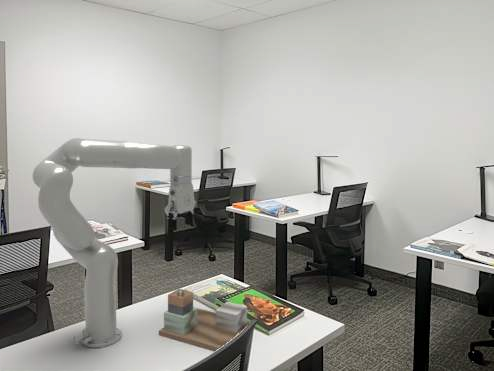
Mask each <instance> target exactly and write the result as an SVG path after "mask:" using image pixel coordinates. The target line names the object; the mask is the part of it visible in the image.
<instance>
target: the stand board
mask: <svg viewBox="0 0 494 371" xmlns="http://www.w3.org/2000/svg"><path fill="white" fill-rule="evenodd" d="M250 322H251V323H252V321H251V320H248V306H247V305H243V304H239V303H234V302H229V301H226V302H224V303H223V304H222V305H221V306H219V307H218V308H216V309H215V312H214V311H210V310H207V309H202V308H198V307H194V306H193V310H191V311H190V312H188V313H187V314H185V315H184V316H181V315H178V314H174V313H170V312H168V309H167V310H165V311H164V312H163V327H162V328H160V329H159V330H158V335H159V336H161V337H165V338H168V339H172V340H175V341H179V342H182V343H186V344H187V345H191V346H196V347H199V348H202V349H206V350H209V351H213V352H215V351H216V350H217V349H219V348H221V347H222V346H223V345H225V344H226V343H227V342H229V341H230V340H231V339H233V338H234V337H235V336H236V335H237V334H238V333H240V332H241V331H242V330H243V329H244V328H245V327H246V326H247V325H248V324H249V323H250Z"/></svg>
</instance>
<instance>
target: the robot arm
mask: <svg viewBox="0 0 494 371" xmlns="http://www.w3.org/2000/svg"><path fill="white" fill-rule="evenodd" d="M192 157H193V156H192V147H191V146H190V145H183V144H181V145H180V144H179V145H162V144H154V145H153V144H143V143H138V142H131V141H124V140H110V139H109V140H107V139H90V138H79V137H76V138H75V137H74V138H70V139H68V140H67V141H65V142H64V143H63V144H61V146H59V147H58V148H57V149H55V150H54V151H53V152H52V153H51V154H49V155H48V156H47V157H46V158H45V157H44V159H43V160H42V161H40V162H39V163H38V164H37V165H36V167H35V168H34V169H33V172H32V181H33V183H34V185H36V186H37V187H38V188H39V192H38V198H37V199H38V209H39V211H40V213H41V215H42V216H43V218H44V219H45V220H46V222H47V223H48V224H49V226H50V227H51V228H52V233H53V236H54V237H55V239H56V241H57V242H58V243H59V244H60V245H61V246H62V248H63V249H64V250H65V251H66V252H67V253H68V254H69V255H70V256H71V257H72V259H74V260H75V261H76V262H77V263H78V264H79V265H80V266H81V267H83V268H84V269H85V271H86V275H85V278H84V287H83V288H84V289H83V291H84V292H83V293H84V316H85V317H84V318H85V319H84V320H85V323H84V324H85V328H83V329H82V333H81V335H79V336H77V337H75V338H74V339H73V344H74V345H78V344H80V343H81V344H82V345H83V346H84V347H88V348H96V349H97V348H104V347H105V348H106V347H109V346H112V345H114V344H116V343H118V342H119V341H120V339H122V336H123V335H122V330H121V329H120V328H118V327H117V291H116V290H117V272H118V266H119V258H118V255H117V252H116V251H115V249H114V248H113V247H112V246H111V245H108V244H107V243H105V242H102V241H101V240H99V239H98V238H97V237H96V233H95V230H94V228H93V226H92V224H90V222H88V220H87V219H86V218H85V217H84V216H83V215H82V213H81V212H80V211H79V210H78V209H77V208H76V206H75V205H74V204H73V202H72V201H71V190H72V187H73V184H74V176H73V172H74V171H75V170H77V169H78V167H82V168H115V169H153V170H169V178H170V179H169V183H170V185H169V190H168V202H167V203H168V204H167V205H166V206H165V207H164V212H165V216H166V219H168V230H169V231H177V230H178V224H177V223H178V220H177V216H178V214H179V215H180V214H184V224H185V225H190V226H193V225H194V214H195V209H196V205H197V200H196V199H195V190H194V185H193V183H192V182H193V181H192V178H193V176H192V171H193V170H192V163H193V162H192Z"/></svg>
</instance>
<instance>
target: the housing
mask: <svg viewBox="0 0 494 371" xmlns="http://www.w3.org/2000/svg"><path fill="white" fill-rule="evenodd" d="M193 307H194V292H193V291H190V290H186V289H182V288H178V289H175V290H174V291H172V292H170V293H169V294H168V295H167V310H168V312H170V313H174V314H178V315H181V316H184V315H185V314H187V313H188V312H190V311H191V310H193Z"/></svg>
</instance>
